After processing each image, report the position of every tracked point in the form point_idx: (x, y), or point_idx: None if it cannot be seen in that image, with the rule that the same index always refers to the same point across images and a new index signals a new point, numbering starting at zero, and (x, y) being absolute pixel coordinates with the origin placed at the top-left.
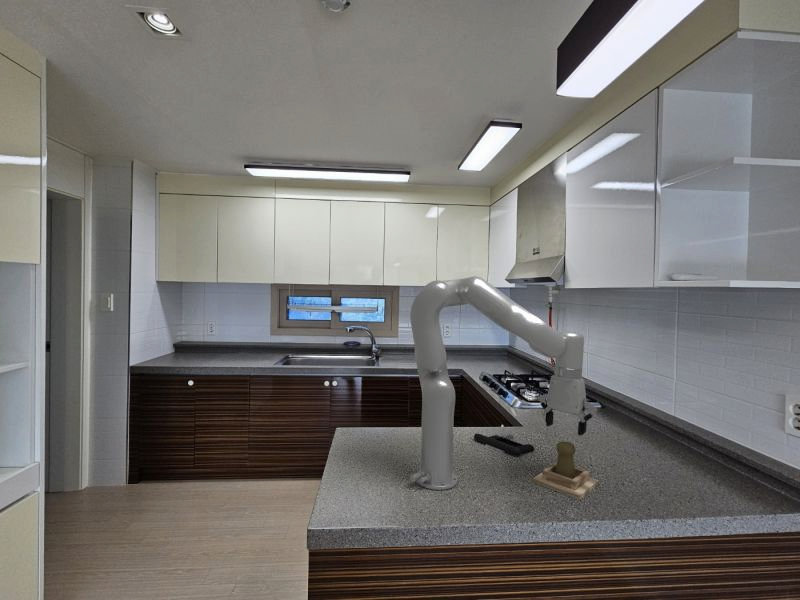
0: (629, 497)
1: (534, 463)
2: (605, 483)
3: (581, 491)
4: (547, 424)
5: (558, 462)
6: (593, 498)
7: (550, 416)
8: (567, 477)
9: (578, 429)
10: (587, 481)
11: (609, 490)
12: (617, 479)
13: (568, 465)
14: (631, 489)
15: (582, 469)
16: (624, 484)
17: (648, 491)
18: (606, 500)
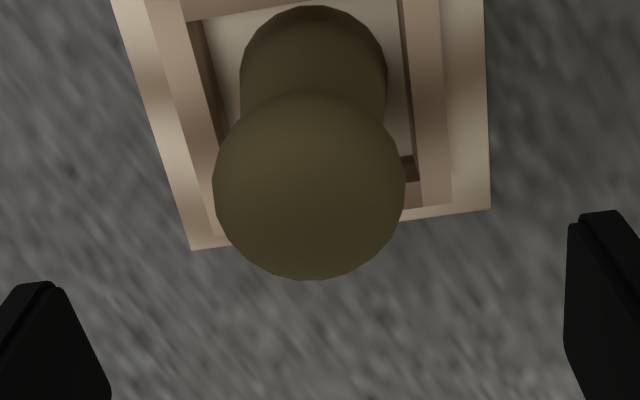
0: (12, 231)
1: (625, 161)
2: (186, 274)
3: (130, 8)
4: (597, 225)
5: (340, 65)
6: (80, 41)
7: (636, 393)
8: (227, 8)
9: (14, 343)
10: None
11: (116, 218)
12: (188, 360)
13: (252, 88)
14: None
15: None
16: (132, 339)
17: None
18: (30, 88)
